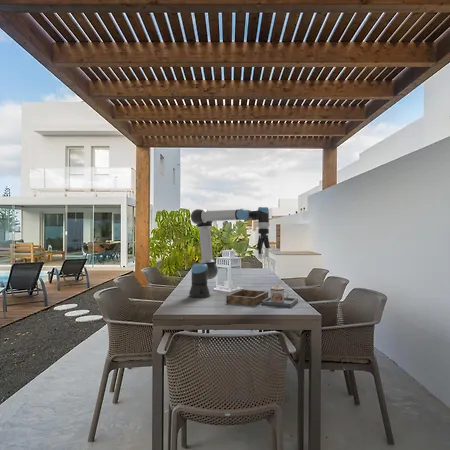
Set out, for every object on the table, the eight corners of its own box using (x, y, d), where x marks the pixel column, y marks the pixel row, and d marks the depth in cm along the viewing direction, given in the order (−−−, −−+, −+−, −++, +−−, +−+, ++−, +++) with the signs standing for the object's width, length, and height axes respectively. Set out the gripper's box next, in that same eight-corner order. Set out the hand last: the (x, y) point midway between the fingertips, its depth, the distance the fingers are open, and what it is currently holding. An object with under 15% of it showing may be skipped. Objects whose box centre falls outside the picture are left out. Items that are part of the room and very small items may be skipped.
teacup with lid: (270, 303, 222) (270, 285, 222) (270, 300, 231) (270, 282, 231) (289, 303, 220) (289, 285, 221) (288, 300, 229) (288, 283, 230)
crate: (226, 303, 228) (226, 295, 228) (241, 296, 252) (241, 289, 252) (255, 305, 219) (255, 297, 219) (268, 298, 243) (268, 291, 243)
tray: (261, 305, 221) (261, 301, 221) (270, 299, 238) (270, 296, 238) (290, 307, 213) (290, 303, 213) (297, 302, 230) (297, 298, 230)
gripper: (262, 228, 234) (262, 259, 234) (273, 228, 256) (273, 256, 256) (252, 228, 237) (252, 258, 237) (264, 228, 260) (264, 256, 259)
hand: (263, 257), depth 246 cm, fingers open, 13 cm apart
